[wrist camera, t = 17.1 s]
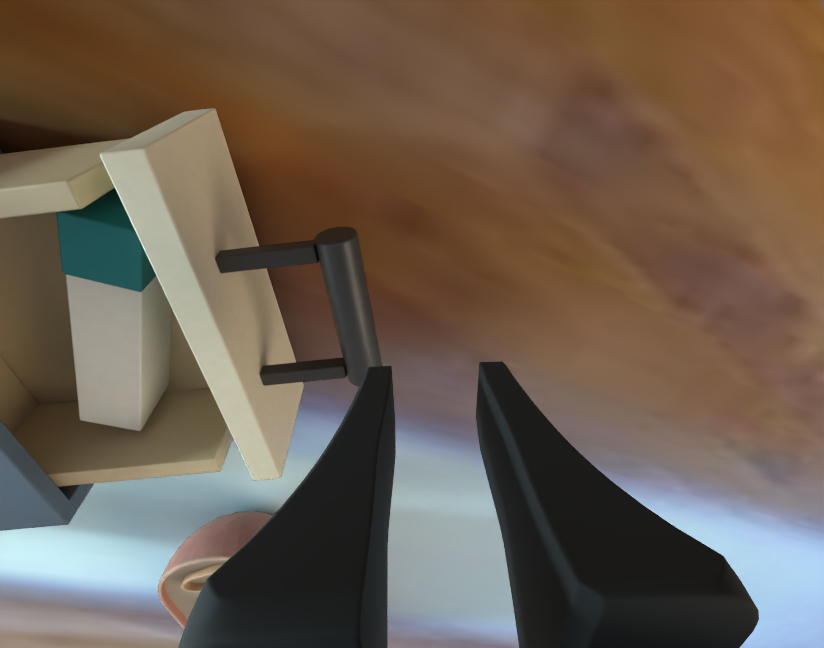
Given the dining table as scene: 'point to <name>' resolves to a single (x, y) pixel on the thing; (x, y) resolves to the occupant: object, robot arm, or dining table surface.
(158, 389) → the teal-capped white post
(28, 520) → the cabinet
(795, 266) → the dining table surface
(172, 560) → the anatomical model
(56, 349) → the drawer
